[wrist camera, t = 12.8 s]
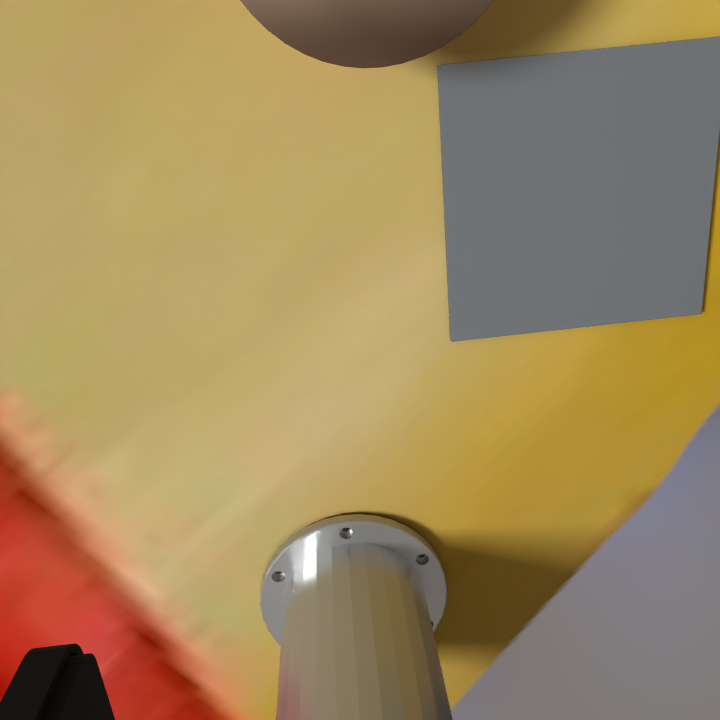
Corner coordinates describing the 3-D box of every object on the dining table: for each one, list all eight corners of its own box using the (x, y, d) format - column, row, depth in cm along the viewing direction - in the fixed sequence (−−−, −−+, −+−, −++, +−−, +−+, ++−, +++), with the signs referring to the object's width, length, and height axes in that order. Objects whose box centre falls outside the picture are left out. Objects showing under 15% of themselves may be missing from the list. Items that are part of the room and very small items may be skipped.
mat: (697, 312, 40) (701, 314, 40) (450, 339, 40) (451, 341, 39) (724, 36, 35) (728, 35, 34) (437, 65, 34) (438, 65, 34)
